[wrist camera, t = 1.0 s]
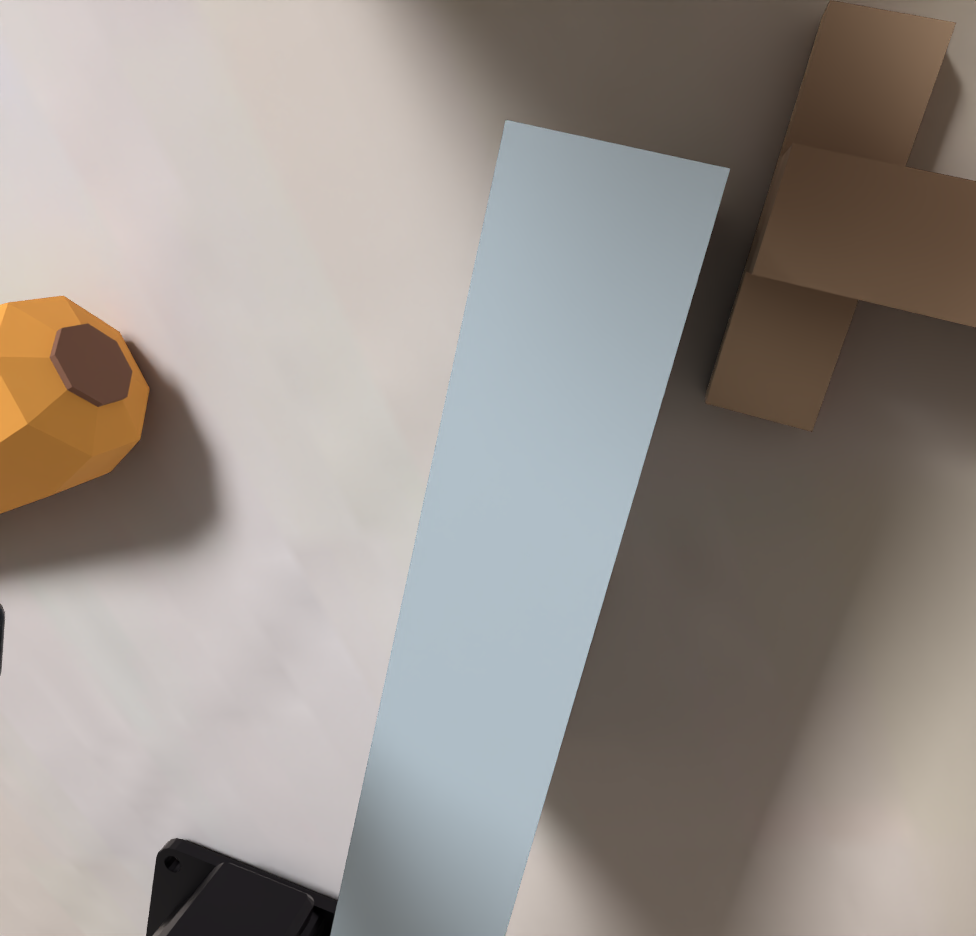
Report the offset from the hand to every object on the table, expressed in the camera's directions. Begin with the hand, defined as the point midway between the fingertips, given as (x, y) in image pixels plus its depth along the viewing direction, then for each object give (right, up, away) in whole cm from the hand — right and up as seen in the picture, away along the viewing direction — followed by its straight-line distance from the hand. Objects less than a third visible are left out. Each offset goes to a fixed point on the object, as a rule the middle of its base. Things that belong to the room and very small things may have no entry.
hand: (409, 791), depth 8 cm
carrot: (-16, +2, +16) cm, 22 cm away
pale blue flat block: (+3, +3, +10) cm, 11 cm away
